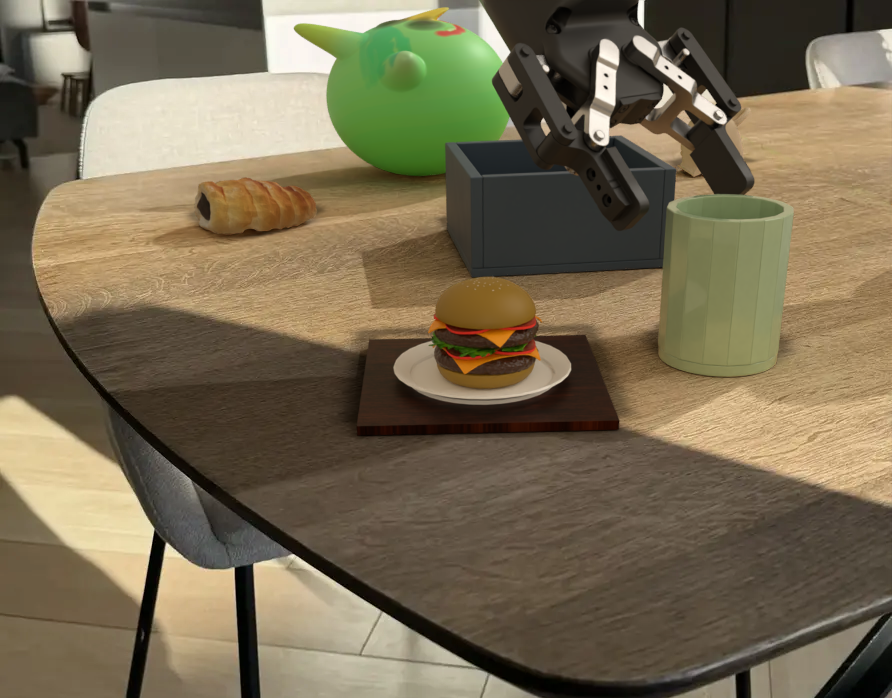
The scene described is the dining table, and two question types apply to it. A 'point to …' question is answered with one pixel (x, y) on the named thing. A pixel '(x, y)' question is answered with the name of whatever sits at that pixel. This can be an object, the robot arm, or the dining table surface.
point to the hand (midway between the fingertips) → (690, 208)
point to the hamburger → (483, 372)
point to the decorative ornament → (731, 130)
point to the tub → (724, 283)
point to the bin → (547, 212)
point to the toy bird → (410, 90)
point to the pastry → (251, 206)
